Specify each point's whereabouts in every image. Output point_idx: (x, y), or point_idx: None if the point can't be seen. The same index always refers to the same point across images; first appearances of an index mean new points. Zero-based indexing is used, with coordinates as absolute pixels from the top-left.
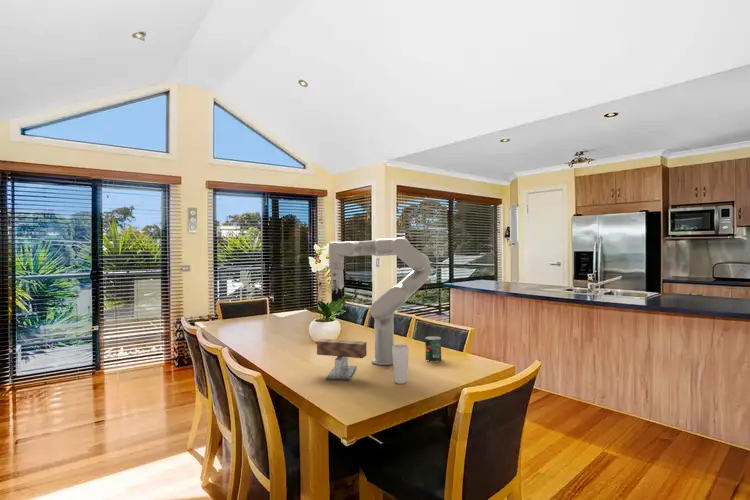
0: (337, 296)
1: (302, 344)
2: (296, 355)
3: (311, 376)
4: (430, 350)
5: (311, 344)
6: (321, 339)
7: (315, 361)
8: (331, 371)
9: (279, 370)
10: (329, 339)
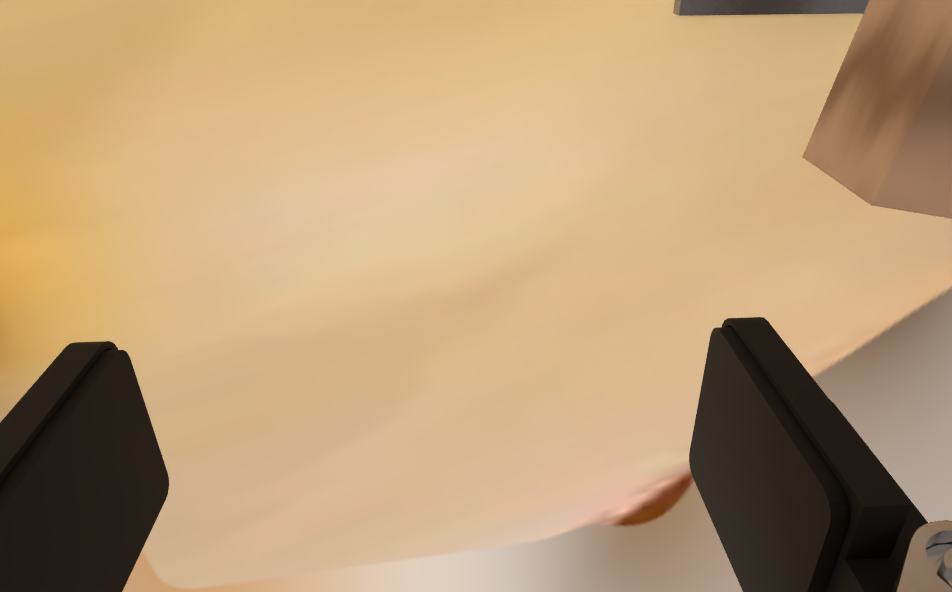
0: (827, 417)
1: None
2: (366, 401)
3: None
4: None
5: None
6: (900, 200)
7: (505, 229)
8: (850, 7)
9: None
10: (925, 105)
